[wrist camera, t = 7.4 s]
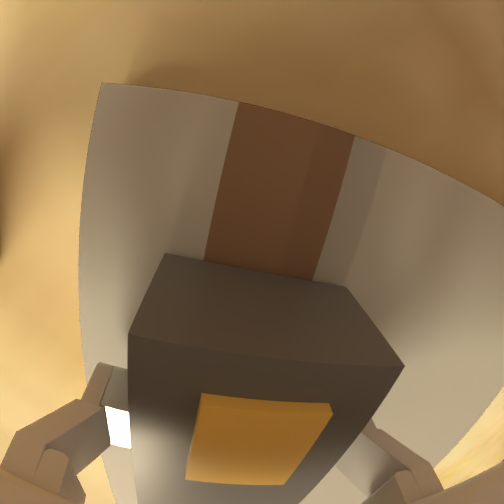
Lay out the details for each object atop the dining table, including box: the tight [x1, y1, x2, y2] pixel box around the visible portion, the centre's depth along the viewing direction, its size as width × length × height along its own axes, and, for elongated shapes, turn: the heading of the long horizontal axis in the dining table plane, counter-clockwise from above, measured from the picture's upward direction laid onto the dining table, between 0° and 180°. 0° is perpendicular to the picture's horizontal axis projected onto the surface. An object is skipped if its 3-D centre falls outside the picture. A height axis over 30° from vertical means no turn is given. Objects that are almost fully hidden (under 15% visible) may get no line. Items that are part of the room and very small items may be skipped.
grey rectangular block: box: [127, 253, 405, 504], centre depth 7 cm, size 8×5×4 cm, turn 166°
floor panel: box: [79, 83, 504, 504], centre depth 13 cm, size 26×22×2 cm
